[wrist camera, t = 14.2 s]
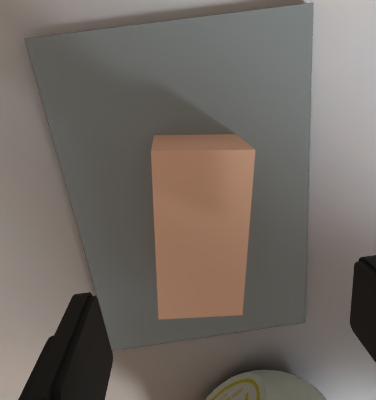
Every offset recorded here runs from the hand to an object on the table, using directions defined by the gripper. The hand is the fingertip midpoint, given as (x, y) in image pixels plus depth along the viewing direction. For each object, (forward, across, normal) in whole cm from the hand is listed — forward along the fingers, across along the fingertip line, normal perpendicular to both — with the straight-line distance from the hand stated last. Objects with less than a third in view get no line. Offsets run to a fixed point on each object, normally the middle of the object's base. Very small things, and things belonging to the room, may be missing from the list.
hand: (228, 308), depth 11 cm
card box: (+8, +1, 0) cm, 8 cm away
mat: (+9, +1, -1) cm, 9 cm away
